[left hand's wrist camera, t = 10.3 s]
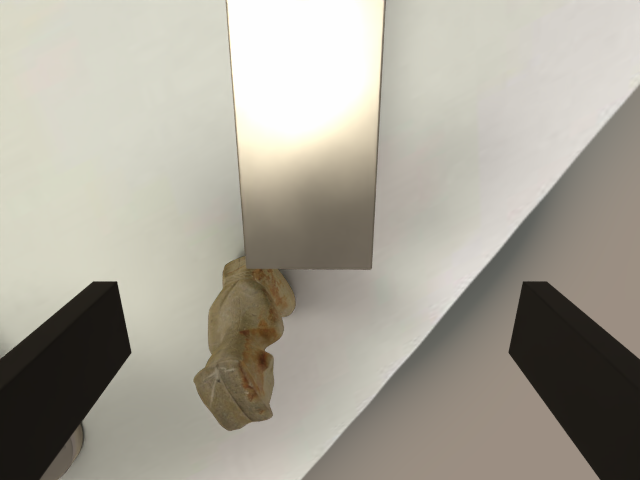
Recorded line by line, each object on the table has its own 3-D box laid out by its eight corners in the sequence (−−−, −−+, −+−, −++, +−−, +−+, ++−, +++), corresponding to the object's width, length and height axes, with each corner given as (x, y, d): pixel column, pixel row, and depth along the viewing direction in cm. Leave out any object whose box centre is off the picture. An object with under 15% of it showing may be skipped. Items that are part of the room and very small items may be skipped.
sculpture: (250, 317, 39) (205, 449, 25) (219, 253, 36) (151, 358, 22) (306, 301, 38) (292, 427, 24) (278, 234, 35) (246, 331, 21)
